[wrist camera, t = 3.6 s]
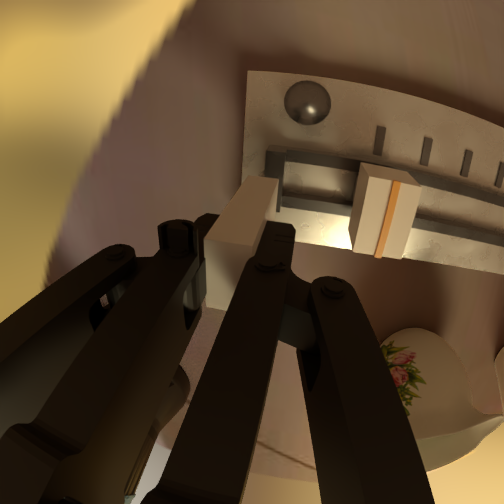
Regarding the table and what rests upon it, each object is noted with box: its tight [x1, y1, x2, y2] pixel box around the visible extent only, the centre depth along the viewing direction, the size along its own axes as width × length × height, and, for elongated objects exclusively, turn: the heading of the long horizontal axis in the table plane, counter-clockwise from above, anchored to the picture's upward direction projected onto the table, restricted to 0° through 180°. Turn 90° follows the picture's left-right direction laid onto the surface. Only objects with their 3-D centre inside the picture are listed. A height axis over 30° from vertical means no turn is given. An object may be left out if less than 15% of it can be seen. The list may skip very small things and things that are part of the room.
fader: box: [348, 162, 422, 259], centre depth 17 cm, size 3×4×5 cm, turn 176°
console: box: [241, 70, 504, 274], centre depth 18 cm, size 32×12×4 cm, turn 87°
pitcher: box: [380, 328, 504, 472], centre depth 24 cm, size 11×18×14 cm, turn 153°
